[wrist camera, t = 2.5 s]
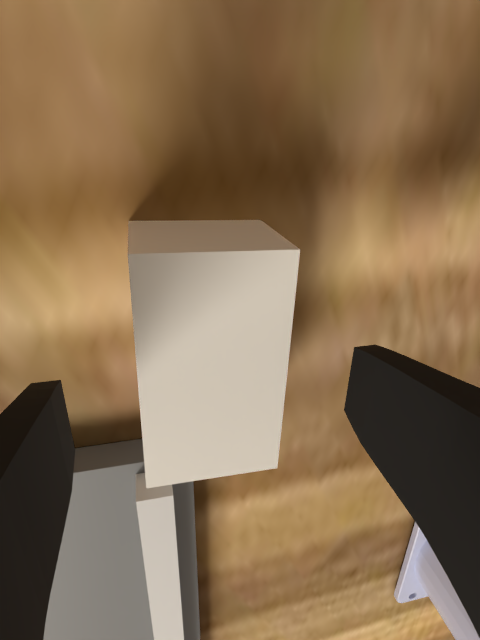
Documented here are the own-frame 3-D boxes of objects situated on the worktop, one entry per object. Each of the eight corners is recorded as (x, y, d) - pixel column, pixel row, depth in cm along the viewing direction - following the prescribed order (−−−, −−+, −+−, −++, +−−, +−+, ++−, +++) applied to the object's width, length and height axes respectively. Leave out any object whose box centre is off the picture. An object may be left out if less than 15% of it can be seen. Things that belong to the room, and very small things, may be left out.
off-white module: (258, 218, 13) (300, 249, 10) (248, 399, 16) (277, 468, 13) (128, 219, 12) (127, 253, 9) (143, 411, 15) (146, 488, 12)
